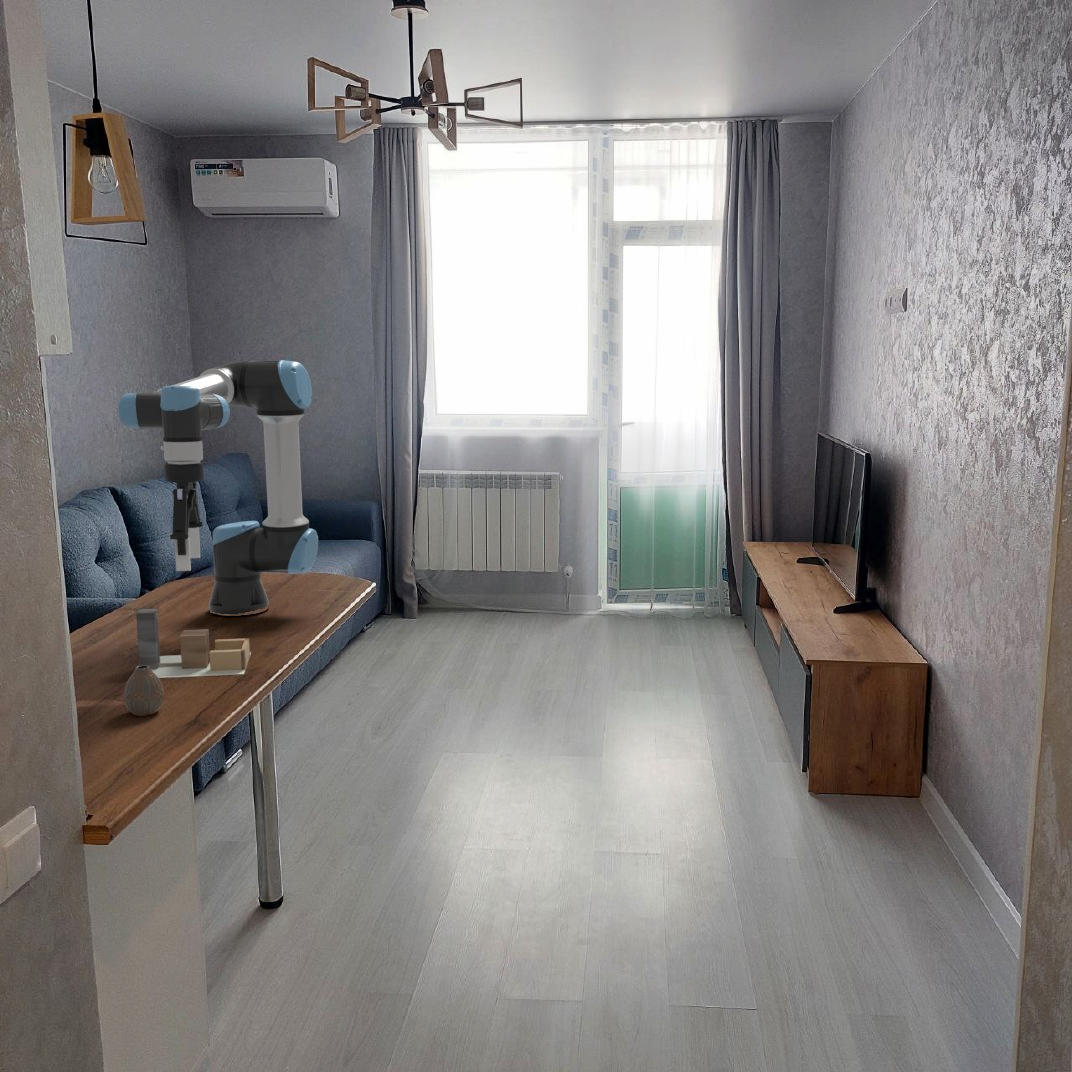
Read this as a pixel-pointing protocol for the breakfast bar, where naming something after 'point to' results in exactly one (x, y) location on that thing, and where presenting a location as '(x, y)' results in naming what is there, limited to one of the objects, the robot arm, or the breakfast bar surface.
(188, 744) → the breakfast bar surface
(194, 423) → the robot arm
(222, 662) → the white board with bracket
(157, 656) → the tether block
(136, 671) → the vase
